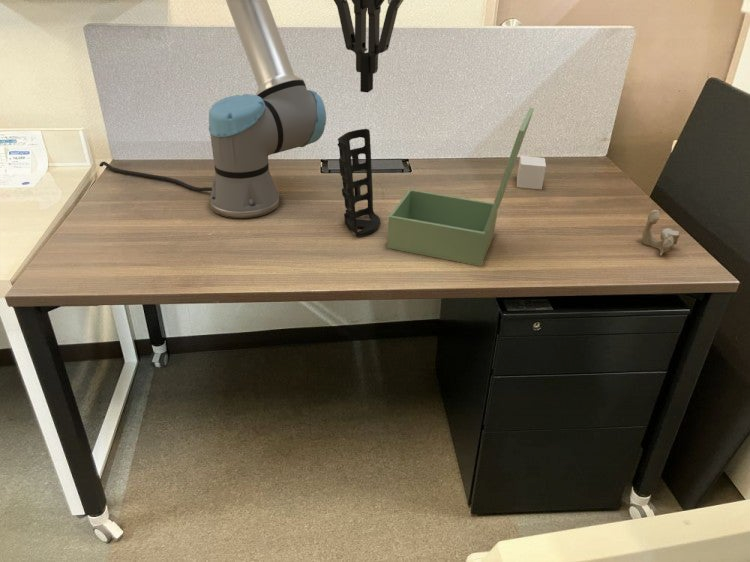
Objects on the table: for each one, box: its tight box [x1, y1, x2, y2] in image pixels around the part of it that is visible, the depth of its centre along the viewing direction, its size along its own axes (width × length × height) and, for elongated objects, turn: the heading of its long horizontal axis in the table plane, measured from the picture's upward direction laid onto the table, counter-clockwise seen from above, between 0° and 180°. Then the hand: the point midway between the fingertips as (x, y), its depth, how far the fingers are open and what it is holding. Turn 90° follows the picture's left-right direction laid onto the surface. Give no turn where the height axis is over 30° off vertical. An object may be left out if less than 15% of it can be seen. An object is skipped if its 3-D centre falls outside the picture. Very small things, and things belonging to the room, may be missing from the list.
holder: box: [336, 128, 381, 238], centre depth 124 cm, size 11×8×20 cm
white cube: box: [516, 155, 547, 190], centre depth 150 cm, size 6×6×6 cm
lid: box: [484, 107, 535, 232], centre depth 112 cm, size 20×14×1 cm
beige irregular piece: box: [641, 209, 681, 257], centre depth 122 cm, size 9×6×10 cm
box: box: [386, 189, 499, 267], centre depth 123 cm, size 19×14×7 cm
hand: (366, 90), depth 114 cm, fingers closed
